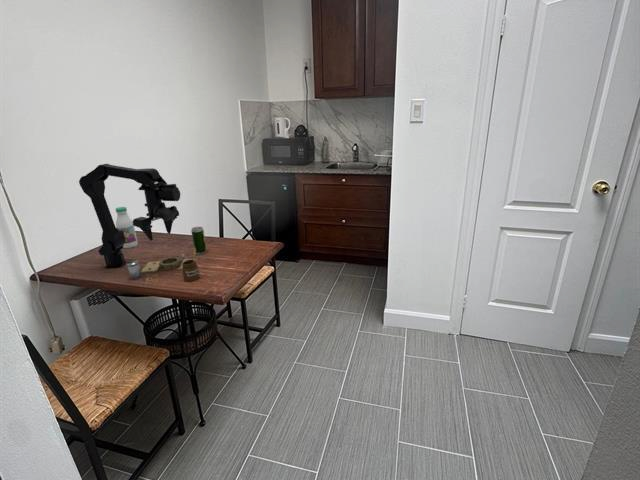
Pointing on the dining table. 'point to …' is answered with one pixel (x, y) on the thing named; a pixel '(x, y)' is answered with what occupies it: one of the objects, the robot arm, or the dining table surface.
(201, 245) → the beer can
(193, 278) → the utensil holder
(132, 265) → the steel pin
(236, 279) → the dining table surface
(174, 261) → the octagon ring with plates
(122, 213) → the milk bottle
